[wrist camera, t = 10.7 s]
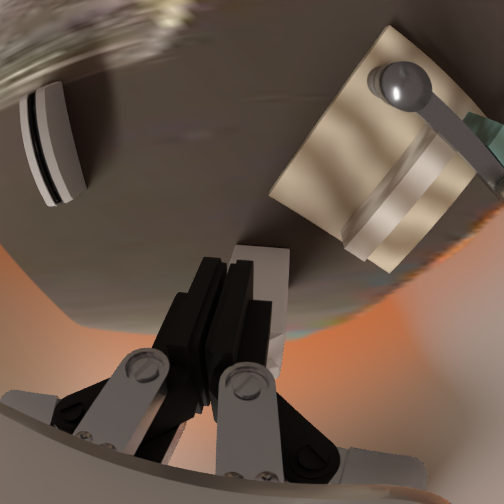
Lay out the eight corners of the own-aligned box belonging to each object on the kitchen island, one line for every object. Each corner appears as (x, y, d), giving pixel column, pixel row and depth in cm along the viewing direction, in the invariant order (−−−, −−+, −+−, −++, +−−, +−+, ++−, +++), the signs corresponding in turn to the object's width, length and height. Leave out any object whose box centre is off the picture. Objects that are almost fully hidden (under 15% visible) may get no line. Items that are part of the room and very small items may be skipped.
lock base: (385, 26, 25) (414, 15, 18) (496, 134, 29) (538, 155, 21) (269, 190, 38) (262, 225, 30) (387, 267, 41) (402, 311, 33)
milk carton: (235, 286, 46) (206, 399, 30) (235, 243, 42) (199, 357, 26) (286, 290, 45) (277, 408, 29) (290, 247, 41) (283, 366, 25)
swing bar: (365, 88, 24) (381, 92, 20) (390, 52, 22) (411, 49, 17) (489, 201, 27) (514, 224, 23) (510, 172, 25) (538, 192, 21)
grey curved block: (36, 90, 33) (4, 94, 24) (65, 79, 33) (37, 79, 25) (63, 195, 41) (39, 223, 33) (90, 187, 42) (71, 213, 33)
